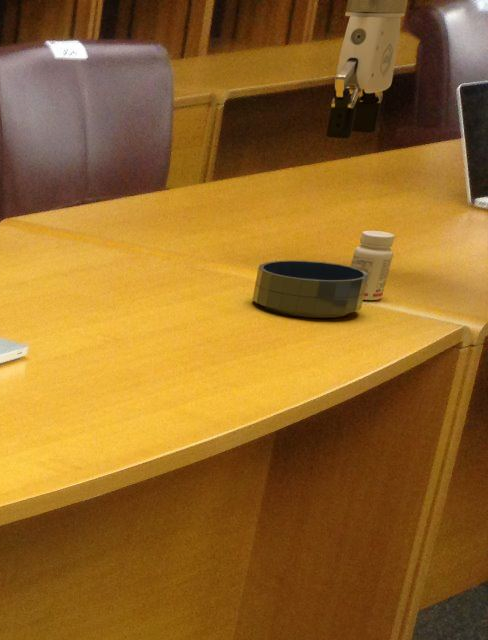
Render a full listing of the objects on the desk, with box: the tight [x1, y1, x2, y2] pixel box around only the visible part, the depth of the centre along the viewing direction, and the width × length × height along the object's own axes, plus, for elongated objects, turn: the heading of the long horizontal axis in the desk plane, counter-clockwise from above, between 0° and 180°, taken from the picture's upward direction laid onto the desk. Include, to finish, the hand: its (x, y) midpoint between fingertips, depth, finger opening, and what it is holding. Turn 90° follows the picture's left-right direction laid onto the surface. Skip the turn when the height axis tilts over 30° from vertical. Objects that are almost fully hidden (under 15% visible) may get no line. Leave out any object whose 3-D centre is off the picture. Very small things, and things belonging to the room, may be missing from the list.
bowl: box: [252, 260, 368, 319], centre depth 201 cm, size 13×13×5 cm
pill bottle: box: [350, 230, 395, 301], centre depth 207 cm, size 5×5×8 cm
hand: (350, 134), depth 219 cm, fingers open, 9 cm apart
